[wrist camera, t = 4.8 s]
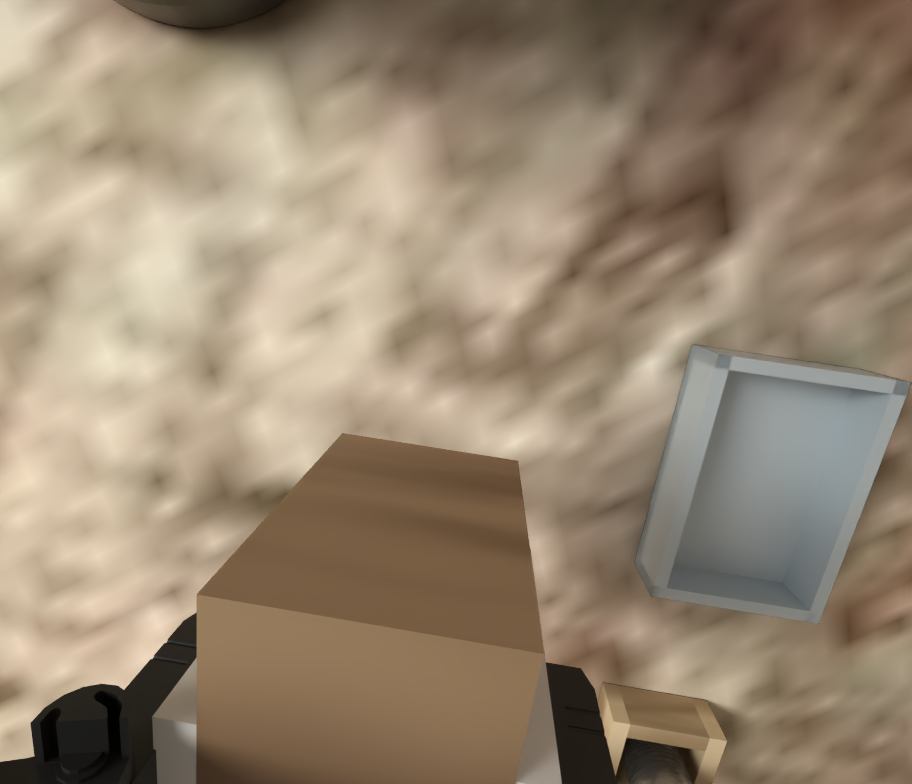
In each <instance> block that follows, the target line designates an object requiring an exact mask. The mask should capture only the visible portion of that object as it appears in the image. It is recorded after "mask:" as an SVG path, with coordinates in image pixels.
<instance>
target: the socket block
mask: <svg viewBox="0 0 912 784" xmlns="http://www.w3.org/2000/svg"><path fill="white" fill-rule="evenodd" d="M598 706H599V710H600V717H601V718H602V722H603V727H604V731H605V737H606V739H607V743H608V747H609V752H610V756H611V760H612V764H613V768H614V772H615V776H616V781H617V784H628V781H627V777H626V773H625V770H624V766H623V762H622V759H621V755H622V752H623V748H624V745H625V741H626V738H632V739H638V740H643V741H649V742H655V743H660V744H666V745H672V746H677V747H678V749H679V752H680V754H681V757H682V759H683V762H684V764H685V767H686V770H687V772H688V775H689V777H690V780H691V782H692V784H712V782H713V780H714V777H715V774H716V771H717V768H718V766H719V763H720V760H721V757H722V754H723V751H724V749H725V746H726V743H727V740H726V738H725V736H724V734H723V732H722V730H721V728H720V726H719V724H718V722H717V720H716V718H715V716H714V714H713V712H712V710H711V708H710V706H709V704H708V702H707V700H701V699H695V698H690V697H684V696H678V695H672V694H666V693H660V692H654V691H649V690H643V689H637V688H631V687H625V686H619V685H614V684H608V683H603V684H602V688H601V692H600V696H599V699H598Z"/></svg>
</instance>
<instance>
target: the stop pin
mask: <svg viewBox="0 0 912 784" xmlns="http://www.w3.org/2000/svg"><path fill="white" fill-rule="evenodd" d="M621 759H622V762H623V766H624V770H625V773H626V777H627V781H628V784H692V782H691V780H690V777H689V775H688V772H687V770H686V767H685V764H684V762H683V759H682V757H681V754H680V752H679V749H678V747H677V746H672V745H666V744H660V743H655V742H649V741H643V740H638V739H632V738H626V741H625V745H624V748H623V752H622V755H621Z"/></svg>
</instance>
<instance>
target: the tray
mask: <svg viewBox="0 0 912 784" xmlns="http://www.w3.org/2000/svg"><path fill="white" fill-rule="evenodd" d="M911 383H912V382H908V381H904V380H900V379H897V378H893V377H889V376H885V375H881V374H878V373H874V372H870V371H866V370H863V369H856V368H849V367H843V366H836V365H829V364H822V363H815V362H808V361H802V360H795V359H788V358H781V357H774V356H768V355H761V354H754V353H747V352H740V351H733V350H727V349H720V348H713V347H706V346H699V345H693V344H692V346H691V350H690V354H689V358H688V362H687V365H686V369H685V373H684V377H683V381H682V384H681V388H680V392H679V396H678V400H677V403H676V407H675V411H674V415H673V418H672V422H671V426H670V430H669V434H668V437H667V441H666V445H665V449H664V453H663V456H662V460H661V464H660V468H659V472H658V475H657V479H656V483H655V487H654V491H653V494H652V498H651V502H650V506H649V510H648V513H647V517H646V521H645V525H644V529H643V532H642V536H641V540H640V544H639V548H638V551H637V555H636V559H635V565H636V567H637V569H638V571H639V573H640V575H641V577H642V579H643V581H644V583H645V585H646V587H647V589H648V591H649V593H650V595H651V597H657V598H663V599H669V600H675V601H681V602H687V603H694V604H700V605H706V606H712V607H718V608H724V609H730V610H736V611H742V612H748V613H754V614H760V615H766V616H773V617H779V618H785V619H791V620H797V621H803V622H809V623H815V624H819V621H820V619H821V616H822V614H823V611H824V609H825V606H826V603H827V601H828V598H829V596H830V593H831V590H832V588H833V585H834V583H835V580H836V577H837V575H838V572H839V570H840V567H841V564H842V562H843V559H844V557H845V554H846V552H847V549H848V546H849V544H850V541H851V539H852V536H853V533H854V531H855V528H856V526H857V523H858V520H859V518H860V515H861V513H862V510H863V507H864V505H865V502H866V500H867V497H868V495H869V492H870V489H871V487H872V484H873V482H874V479H875V476H876V474H877V471H878V469H879V466H880V463H881V461H882V458H883V456H884V453H885V450H886V448H887V445H888V443H889V440H890V438H891V435H892V432H893V430H894V427H895V425H896V422H897V419H898V417H899V414H900V412H901V409H902V406H903V404H904V401H905V399H906V396H907V393H908V391H909V388H910V386H911Z"/></svg>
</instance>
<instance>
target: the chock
mask: <svg viewBox="0 0 912 784" xmlns="http://www.w3.org/2000/svg"><path fill="white" fill-rule="evenodd" d="M543 657H544V650H543V642H542V635H541V627H540V620H539V613H538V605H537V598H536V591H535V583H534V576H533V568H532V561H531V554H530V546H529V539H528V532H527V524H526V517H525V509H524V502H523V495H522V487H521V480H520V472H519V465H518V461H515V460H509V459H502V458H496V457H490V456H483V455H477V454H471V453H464V452H458V451H452V450H445V449H439V448H433V447H427V446H420V445H414V444H408V443H401V442H395V441H389V440H382V439H376V438H370V437H363V436H357V435H351V434H344V433H342V434H341V436H340V437H339V438H338V439H337V440H336V441H335V442H334V443H333V444H332V446H331V447H330V448H329V449H328V450H327V451H326V452H325V453H324V454H323V455H322V457H321V458H320V459H319V460H318V461H317V462H316V463H315V464H314V465H313V467H312V468H311V469H310V470H309V471H308V472H307V473H306V474H305V475H304V476H303V478H302V479H301V480H300V481H299V482H298V483H297V484H296V485H295V486H294V488H293V489H292V490H291V491H290V492H289V493H288V494H287V495H286V496H285V497H284V499H283V500H282V501H281V502H280V503H279V504H278V505H277V506H276V507H275V509H274V510H273V511H272V512H271V513H270V514H269V515H268V516H267V517H266V518H265V520H264V521H263V522H262V523H261V524H260V525H259V526H258V527H257V528H256V530H255V531H254V532H253V533H252V534H251V535H250V536H249V537H248V538H247V539H246V541H245V542H244V543H243V544H242V545H241V546H240V547H239V548H238V549H237V551H236V552H235V553H234V554H233V555H232V556H231V557H230V558H229V559H228V560H227V562H226V563H225V564H224V565H223V566H222V567H221V568H220V569H219V570H218V572H217V573H216V574H215V575H214V576H213V577H212V578H211V579H210V580H209V581H208V583H207V584H206V585H205V586H204V587H203V588H202V589H201V590H200V591H199V593H198V594H197V720H196V784H515V781H516V776H517V772H518V768H519V763H520V759H521V754H522V750H523V745H524V741H525V737H526V732H527V728H528V723H529V719H530V714H531V710H532V705H533V701H534V697H535V692H536V688H537V683H538V679H539V674H540V670H541V666H542V661H543Z"/></svg>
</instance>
